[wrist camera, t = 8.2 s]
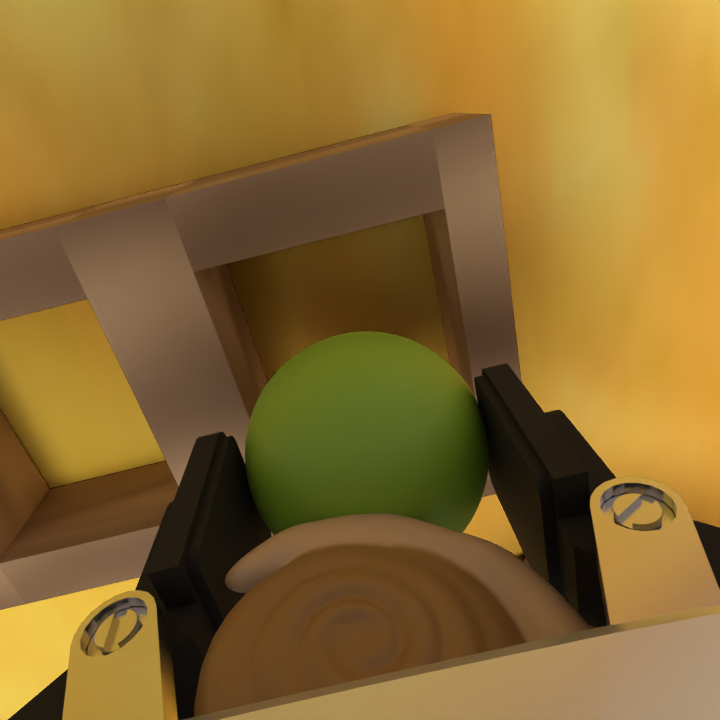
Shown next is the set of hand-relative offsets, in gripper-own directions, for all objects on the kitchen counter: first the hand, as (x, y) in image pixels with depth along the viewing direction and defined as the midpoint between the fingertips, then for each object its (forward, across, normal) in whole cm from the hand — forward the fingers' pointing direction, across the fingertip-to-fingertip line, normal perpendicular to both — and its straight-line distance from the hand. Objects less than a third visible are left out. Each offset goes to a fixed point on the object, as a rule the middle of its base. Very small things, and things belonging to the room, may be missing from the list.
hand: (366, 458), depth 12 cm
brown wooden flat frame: (+8, +5, 0) cm, 10 cm away
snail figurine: (+3, -1, 0) cm, 3 cm away
